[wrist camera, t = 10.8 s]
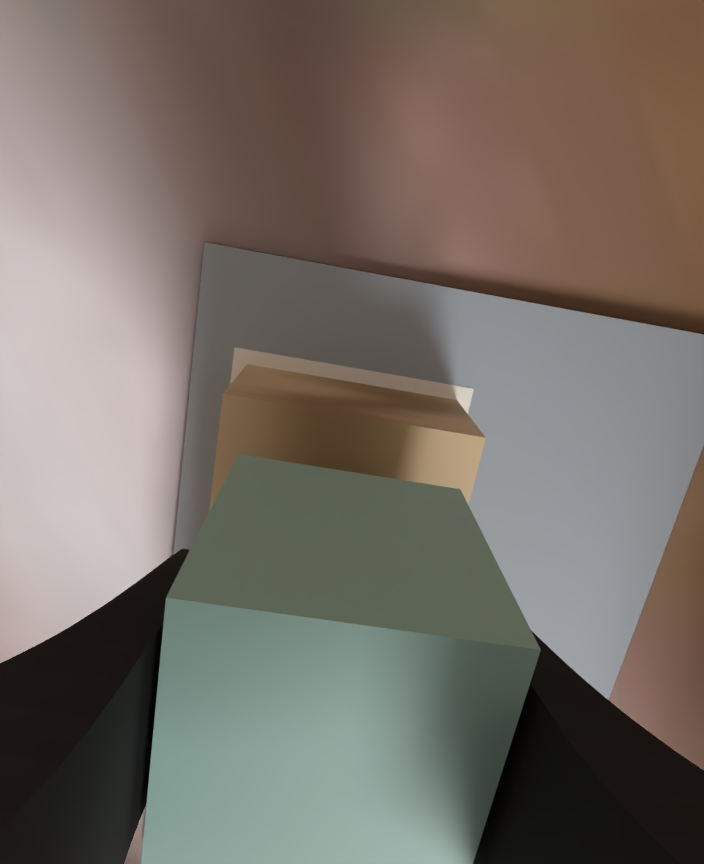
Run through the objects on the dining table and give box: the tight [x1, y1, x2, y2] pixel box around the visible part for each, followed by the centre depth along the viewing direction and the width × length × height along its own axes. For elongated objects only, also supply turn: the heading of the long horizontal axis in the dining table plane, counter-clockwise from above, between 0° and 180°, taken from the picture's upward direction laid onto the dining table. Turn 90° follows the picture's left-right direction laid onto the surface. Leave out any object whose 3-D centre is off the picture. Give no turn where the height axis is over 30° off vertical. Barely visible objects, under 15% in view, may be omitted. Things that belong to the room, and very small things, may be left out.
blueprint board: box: [173, 242, 704, 700], centre depth 19 cm, size 15×22×1 cm
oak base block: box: [209, 364, 486, 511], centre depth 16 cm, size 6×6×4 cm
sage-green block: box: [141, 454, 541, 864], centre depth 10 cm, size 4×4×5 cm
